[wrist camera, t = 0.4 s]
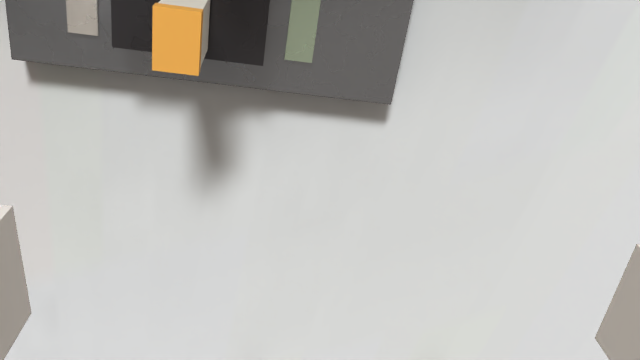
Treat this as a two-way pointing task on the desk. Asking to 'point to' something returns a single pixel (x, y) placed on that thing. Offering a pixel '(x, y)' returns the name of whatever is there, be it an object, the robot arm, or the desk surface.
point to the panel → (332, 74)
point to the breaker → (180, 35)
